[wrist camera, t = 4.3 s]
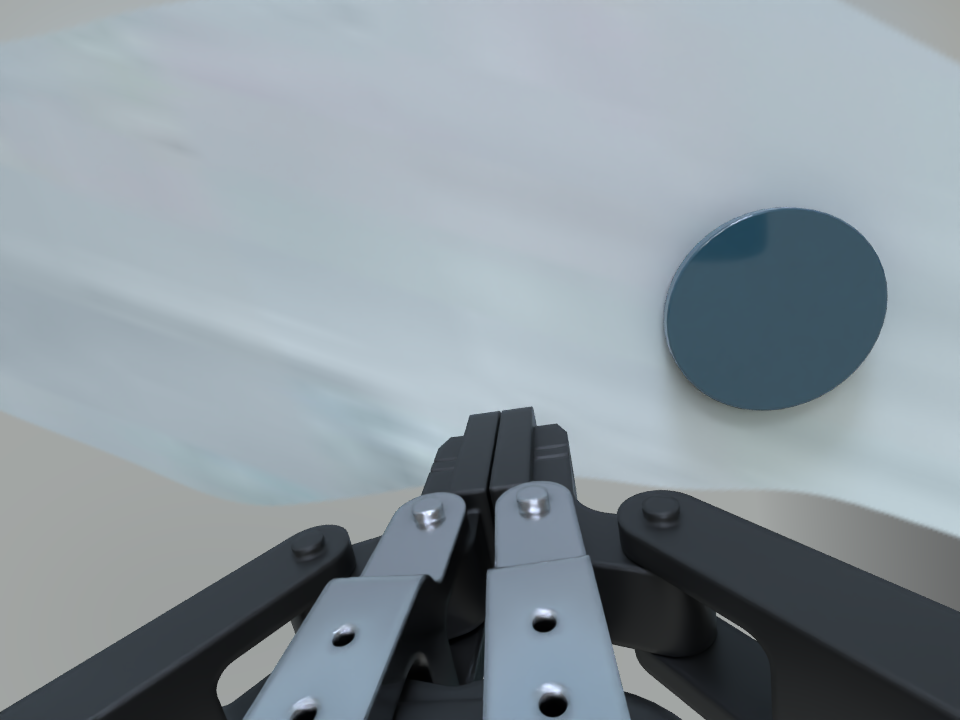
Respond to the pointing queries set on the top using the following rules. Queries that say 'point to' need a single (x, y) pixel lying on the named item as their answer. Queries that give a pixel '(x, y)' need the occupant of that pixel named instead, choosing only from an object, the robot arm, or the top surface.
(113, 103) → the top surface
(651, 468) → the top surface
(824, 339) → the plate
